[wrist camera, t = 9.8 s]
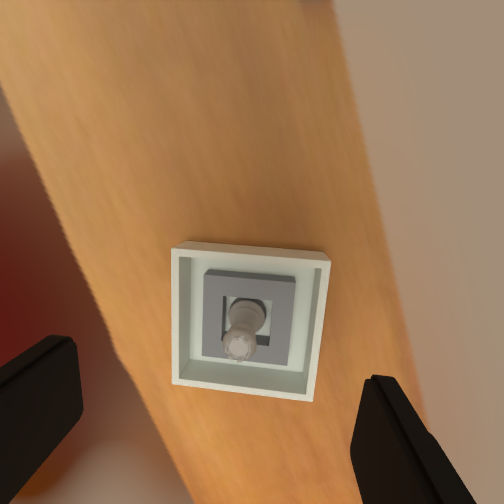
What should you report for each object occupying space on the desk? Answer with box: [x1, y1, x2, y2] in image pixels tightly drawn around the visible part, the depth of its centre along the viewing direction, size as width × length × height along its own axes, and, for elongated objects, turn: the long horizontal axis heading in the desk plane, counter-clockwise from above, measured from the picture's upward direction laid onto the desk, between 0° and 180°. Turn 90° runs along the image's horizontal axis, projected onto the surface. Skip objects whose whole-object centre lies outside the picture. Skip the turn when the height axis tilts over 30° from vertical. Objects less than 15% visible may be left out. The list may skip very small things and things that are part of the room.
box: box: [171, 241, 331, 402], centre depth 30 cm, size 16×16×4 cm
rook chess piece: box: [222, 297, 266, 362], centre depth 27 cm, size 4×4×8 cm
